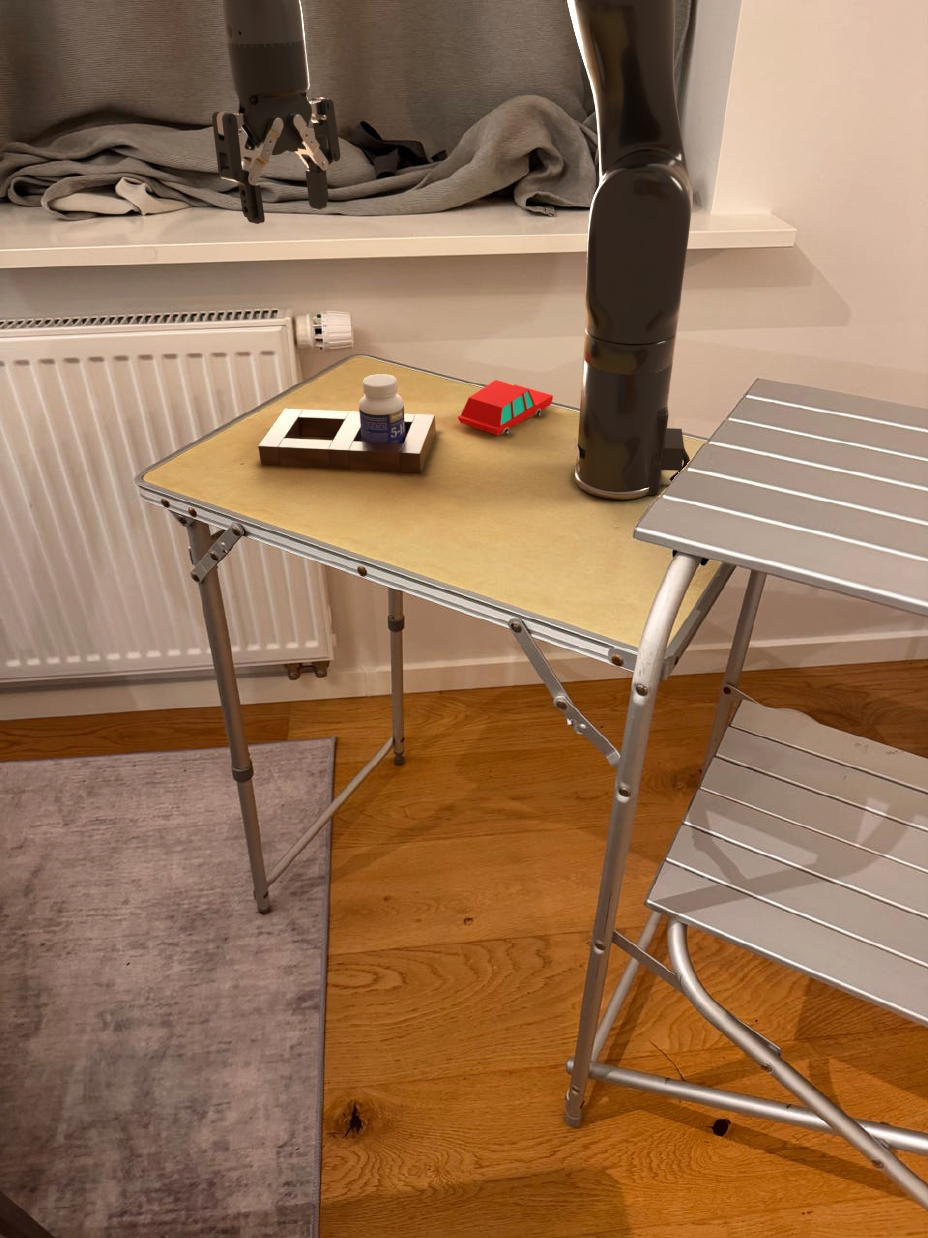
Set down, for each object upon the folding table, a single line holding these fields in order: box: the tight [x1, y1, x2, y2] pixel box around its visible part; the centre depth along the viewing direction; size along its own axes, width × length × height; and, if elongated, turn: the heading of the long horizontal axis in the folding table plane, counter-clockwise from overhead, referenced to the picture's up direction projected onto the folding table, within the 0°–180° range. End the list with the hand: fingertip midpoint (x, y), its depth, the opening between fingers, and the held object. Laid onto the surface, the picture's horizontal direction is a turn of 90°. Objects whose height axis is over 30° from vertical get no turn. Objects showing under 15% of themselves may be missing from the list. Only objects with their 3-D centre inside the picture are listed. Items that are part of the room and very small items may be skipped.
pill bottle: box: [358, 373, 406, 444], centre depth 107 cm, size 5×5×9 cm
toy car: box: [457, 379, 554, 436], centre depth 115 cm, size 6×12×4 cm, turn 141°
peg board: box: [257, 408, 437, 474], centre depth 109 cm, size 19×11×2 cm, turn 82°
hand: (288, 214), depth 97 cm, fingers open, 8 cm apart
